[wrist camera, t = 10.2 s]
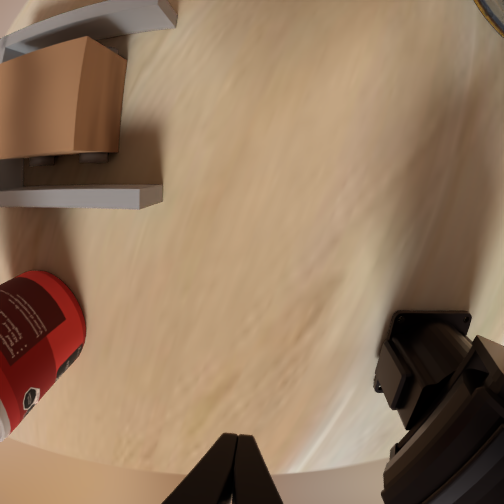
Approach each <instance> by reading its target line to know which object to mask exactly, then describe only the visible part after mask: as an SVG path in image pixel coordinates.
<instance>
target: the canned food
mask: <svg viewBox="0 0 504 504" xmlns="http://www.w3.org/2000/svg"><path fill="white" fill-rule="evenodd" d="M85 337H86V326H85V320H84V316H83V313H82V310H81V308H80V306H79V304H78V301H77V300H76V298H75V296H74V295H73V293H72V292H71V290H70V289H69V288H68V287H67V286H66V284H64V283H63V282H62V281H61V280H60V279H59V278H57V277H56V276H54V275H53V274H51V273H48V272H46V271H28V272H25V273H23V274H21V275H19V276H17V277H15V278H13V279H11V280H9V281H7V282H5V283H3V284H1V285H0V442H2V441H3V440H4V439H5V438H6V437H8V436H9V435H10V433H11V432H12V431H13V430H14V429H15V428H16V427H17V426H18V425H19V423H20V422H21V421H22V420H23V419H24V417H25V416H26V415H27V414H28V413H29V412H30V410H31V409H32V408H33V407H34V406H35V405H36V403H37V402H38V401H39V400H40V399H41V398H42V397H43V395H44V394H45V393H46V392H47V391H48V390H49V389H50V388H51V386H52V385H53V384H54V383H55V382H56V381H57V380H58V379H59V377H60V376H61V375H62V374H63V373H64V372H65V371H66V370H67V369H68V367H69V366H70V365H71V364H72V363H73V362H74V361H75V360H76V359H77V358H78V356H79V355H80V353H81V350H82V348H83V345H84V343H85Z"/></svg>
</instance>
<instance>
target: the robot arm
mask: <svg viewBox="0 0 504 504" xmlns="http://www.w3.org/2000/svg"><path fill="white" fill-rule="evenodd" d="M401 316H402V319H401V320H400V321H398V318H399V317H401ZM465 317H466V319H465V320H464V318H465ZM471 319H472V316H471V314H470V313H469V312H467V311H407V310H400V311H397V312H395V313H394V314H393V317H392V320H391V325H390V329H389V332H388V336H387V340H386V341H385V342H384V343H383V345H382V349H381V353H380V356H379V360H378V363H377V367H376V370H375V374H376V378H375V382H374V386H373V387H374V389H375V392H377V393H384V395H385V397H386V400H387V402H388V404H389V407H390V408H391V409H392V410H397V411H398V413H399V415H400V418H401V420H402V422H403V425H404V427H405V429H406V430H410V431H409V432H408V433H407V434H406V435H405V436H404V437H403V439H402V440H401V441H400V442H399V443H396V444H395V445H394V446H393V447H392V448H391V450H390V461H389V462H388V463H387V465H386V468H385V471H384V474H383V477H384V490H382V492H381V496H382V499H383V501H384V504H504V346H502V345H500V344H498V343H496V342H493V341H491V340H489V339H486V338H484V337H482V336H479V335H476V337H475V339H474V340H473V342H472V341H471V340H470V339H469V338H468V337H467V336H466V335H467V332H468V329H469V326H470V323H471ZM380 385H381V387H379V386H380ZM231 500H232V504H283V501H282V499H281V497H280V495H279V493H278V491H277V489H276V486H275V484H274V482H273V480H272V477H271V475H270V473H269V471H268V468H267V466H266V464H265V462H264V459H263V457H262V455H261V452H260V450H259V448H258V445H257V443H256V441H255V438H254V437H253V436H252V435H244V434H240V435H239V436H238V435H237V434H234V433H223V434H222V435H221V436H220V437H219V438H218V440H217V441H216V442H215V443H214V444H213V446H212V447H211V448H210V449H209V450H208V452H207V453H206V454H205V455H204V456H203V458H202V459H201V460H200V461H199V462H198V463H197V465H196V466H195V467H194V468H193V469H192V470H191V471H190V473H189V474H188V475H187V476H186V477H185V478H184V479H183V481H182V482H181V483H180V484H179V485H178V486H177V487H176V488H175V489H174V491H173V492H172V493H171V494H170V495H169V496H168V497H167V498H166V499H165V500H164V501H163V502H162V504H230V503H231Z"/></svg>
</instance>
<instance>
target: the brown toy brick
mask: <svg viewBox="0 0 504 504" xmlns="http://www.w3.org/2000/svg"><path fill="white" fill-rule="evenodd" d="M126 66H127V60H125V59H124V58H122V57H121V56H119V55H118V50H117V49H115V48H112V47H105V46H103V45H102V44H100V43H98V42H97V41H95V40H93V39H92V38H90V37H88V36H85V37H81V38H77V39H73V40H69V41H66V42H62V43H59V44H55V45H52V46H49V47H45V48H42V49H39V50H36V51H33V52H30V53H27V54H24V55H22V56H19V57H16V58H14V59H11V60H8V61H6V62H3V63H1V64H0V159H15V158H30V163H29V166H42V165H54V156H60V155H74V154H80V156H79V163H97V162H107V161H108V153H113V152H119V135H120V121H121V110H122V99H123V90H124V82H125V74H126Z"/></svg>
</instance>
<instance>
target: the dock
mask: <svg viewBox="0 0 504 504" xmlns="http://www.w3.org/2000/svg"><path fill="white" fill-rule="evenodd" d="M177 16H178V15H177V14H176V12H175V11H174V9H173V8H172V6H171V5H170V4H169V2H168V1H167V0H108V1H103V2H100V3H96V4H92V5H88V6H85V7H81V8H78V9H75V10H72V11H68V12H65V13H62V14H59V15H56V16H53V17H51V18H48V19H45V20H43V21H40V22H37V23H35V24H32V25H30V26H27V27H25V28H23V29H20V30H18V31H16V32H13V33H11V34H9V35H7V36H5V37H2V38H0V64H1V63H3V62H6V61H8V60H11V59H14V58H16V57H19V56H22V55H24V54H27V53H30V52H33V51H36V50H39V49H42V48H45V47H49V46H52V45H55V44H59V43H62V42H66V41H69V40H73V39H77V38H81V37H85V36H88V37H90V38H92V39H93V40H100V39H105V38H110V37H115V36H121V35H126V34H132V33H139V32H146V31H154V30H162V29H172V28H176V23H177ZM23 165H24V158H15V159H0V207H66V208H109V209H142V208H145V207H148V206H151V205H154V204H157V203H160V202H162V197H163V185H147V184H86V185H47V186H24V187H23Z"/></svg>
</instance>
